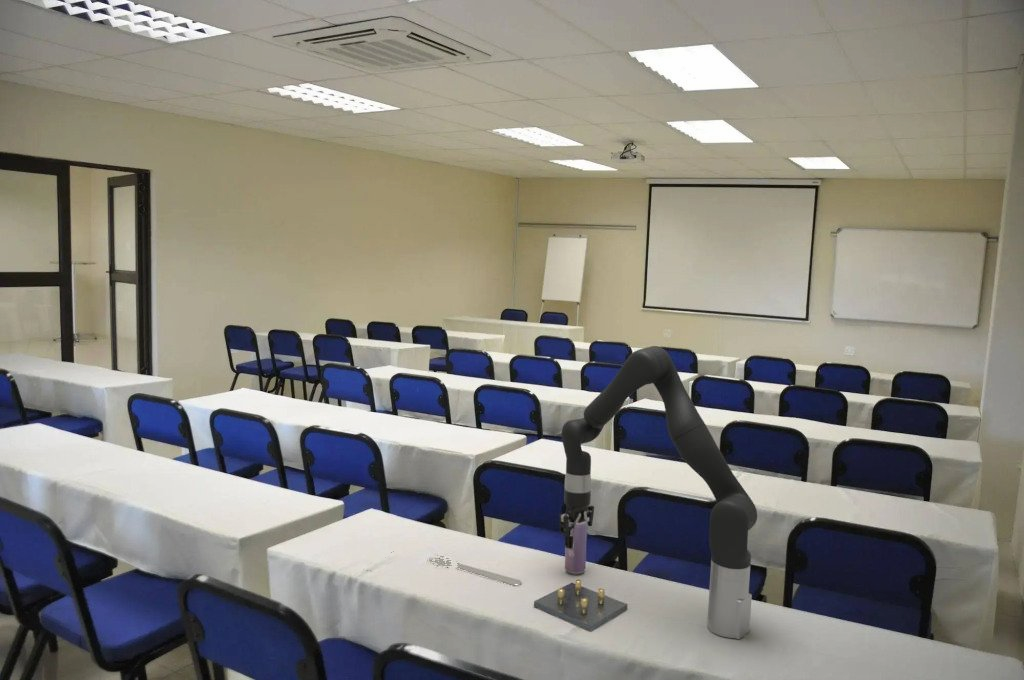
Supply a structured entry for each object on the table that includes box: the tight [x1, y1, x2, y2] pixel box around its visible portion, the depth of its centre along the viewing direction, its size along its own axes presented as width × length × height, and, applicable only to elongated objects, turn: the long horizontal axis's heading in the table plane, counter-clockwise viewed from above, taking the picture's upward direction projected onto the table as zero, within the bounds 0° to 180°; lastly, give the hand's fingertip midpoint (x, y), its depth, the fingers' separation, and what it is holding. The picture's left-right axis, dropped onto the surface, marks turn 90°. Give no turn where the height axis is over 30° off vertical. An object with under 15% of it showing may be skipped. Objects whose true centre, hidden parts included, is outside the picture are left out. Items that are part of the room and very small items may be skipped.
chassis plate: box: [533, 579, 629, 632], centre depth 188 cm, size 18×16×5 cm
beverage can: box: [564, 520, 588, 575], centre depth 210 cm, size 6×6×15 cm
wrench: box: [428, 555, 523, 587], centre depth 209 cm, size 8×32×1 cm, turn 59°
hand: (575, 544), depth 210 cm, fingers closed on beverage can, 6 cm apart
